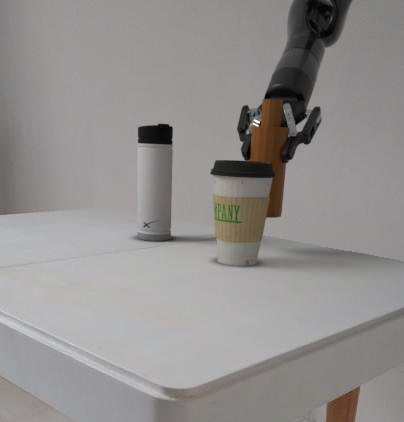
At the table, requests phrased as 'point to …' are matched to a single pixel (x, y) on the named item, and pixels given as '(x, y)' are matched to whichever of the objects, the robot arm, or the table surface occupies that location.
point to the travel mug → (155, 182)
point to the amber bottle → (271, 150)
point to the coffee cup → (240, 208)
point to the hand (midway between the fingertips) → (264, 157)
